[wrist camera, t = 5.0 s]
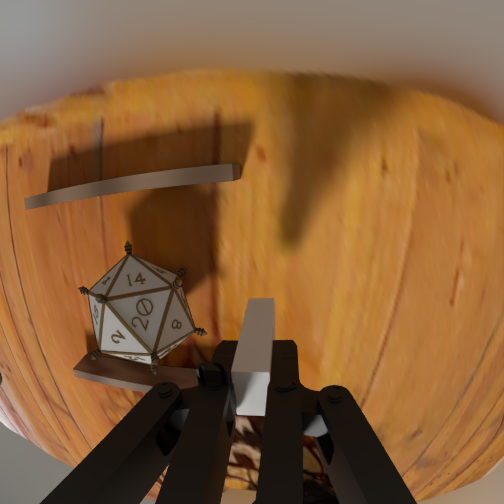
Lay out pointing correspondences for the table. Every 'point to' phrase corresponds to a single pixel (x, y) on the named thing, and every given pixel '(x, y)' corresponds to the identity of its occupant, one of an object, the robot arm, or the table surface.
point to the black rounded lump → (317, 493)
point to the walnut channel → (104, 367)
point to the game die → (139, 311)
